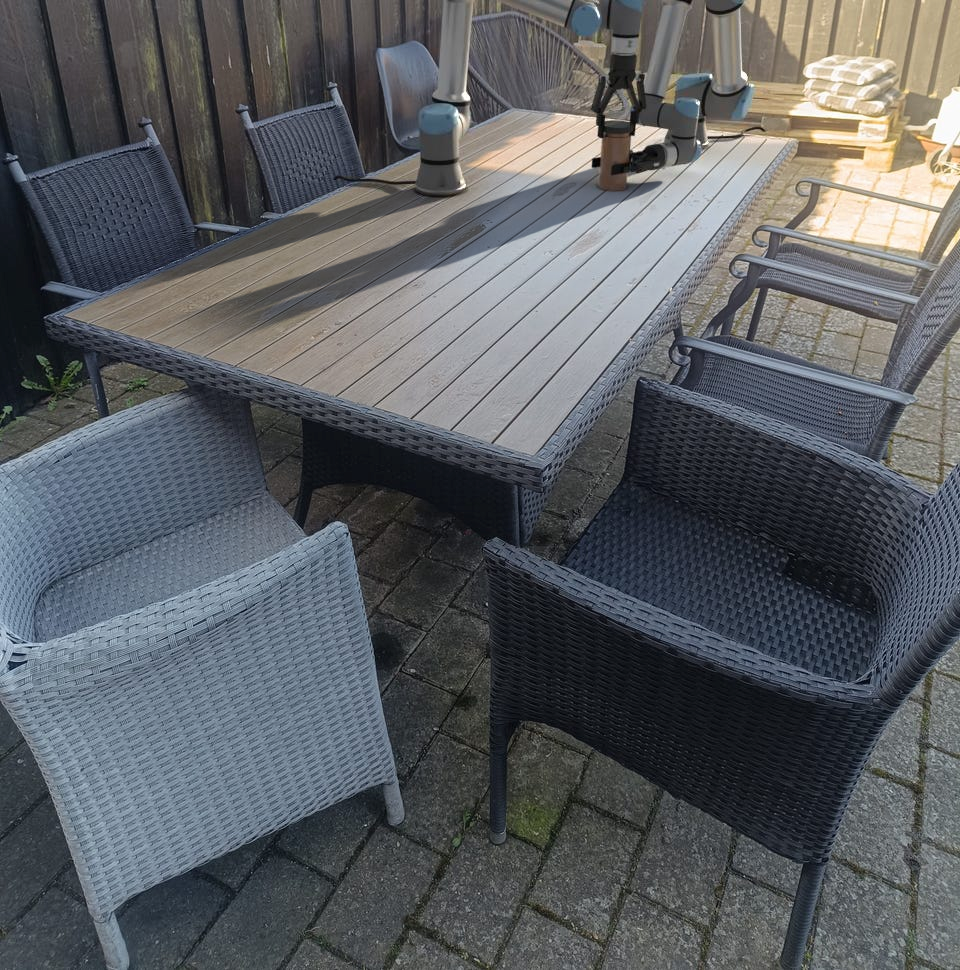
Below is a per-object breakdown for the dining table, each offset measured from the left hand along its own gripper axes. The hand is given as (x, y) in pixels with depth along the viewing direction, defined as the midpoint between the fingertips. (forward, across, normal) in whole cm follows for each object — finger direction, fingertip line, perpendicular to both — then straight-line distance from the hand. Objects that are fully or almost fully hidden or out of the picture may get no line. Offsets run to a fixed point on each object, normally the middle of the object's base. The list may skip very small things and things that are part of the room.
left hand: (616, 136), depth 253 cm
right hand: (+8, -4, -1) cm, 9 cm away
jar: (+15, 0, 0) cm, 15 cm away
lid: (-3, 0, 0) cm, 3 cm away
